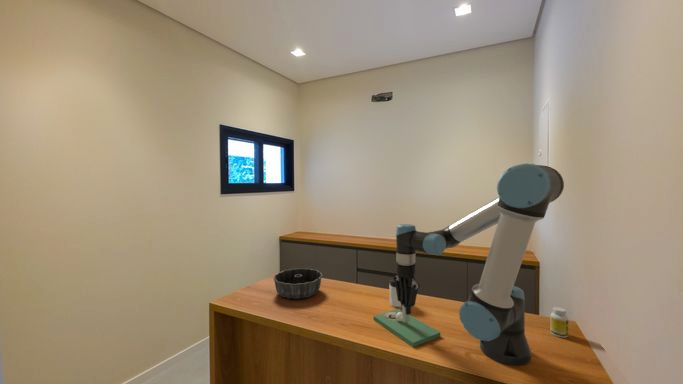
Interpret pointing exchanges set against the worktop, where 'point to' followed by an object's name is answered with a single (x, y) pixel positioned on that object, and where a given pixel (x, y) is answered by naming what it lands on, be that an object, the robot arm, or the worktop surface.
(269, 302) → the worktop surface
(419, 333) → the mat
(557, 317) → the supplement bottle
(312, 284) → the bundt pan
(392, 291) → the jar
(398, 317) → the ball
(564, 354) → the worktop surface
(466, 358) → the worktop surface
